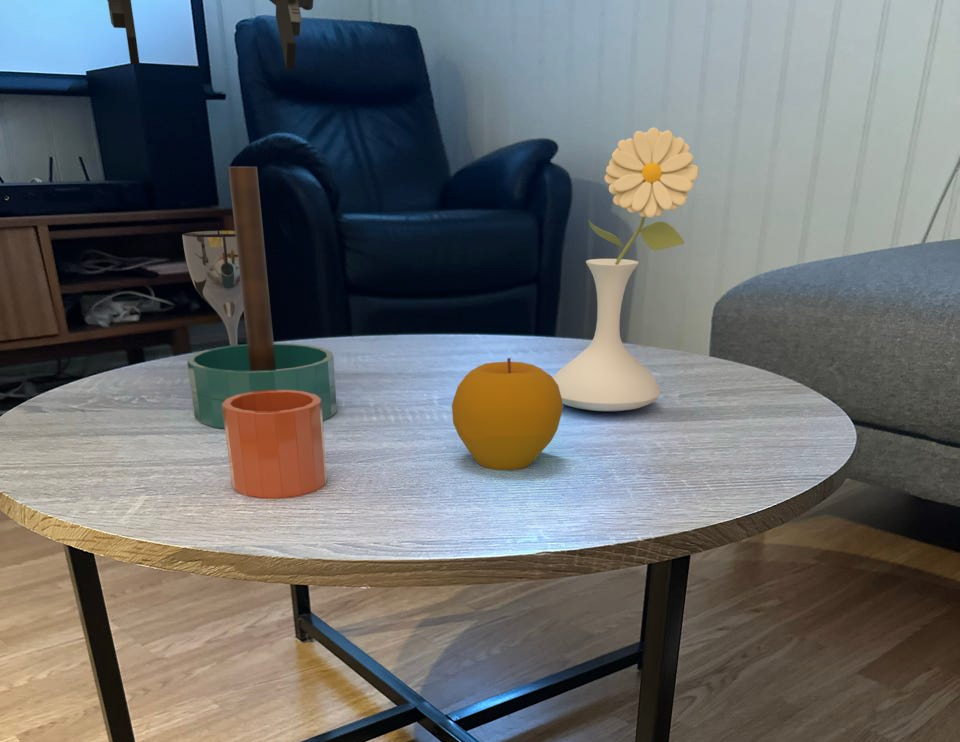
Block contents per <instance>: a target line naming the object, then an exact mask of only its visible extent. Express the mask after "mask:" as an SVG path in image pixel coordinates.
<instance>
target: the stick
mask: <svg viewBox="0 0 960 742" xmlns="http://www.w3.org/2000/svg"><path fill="white" fill-rule="evenodd" d="M227 169H228V179H229V188H230V197H231V205H232V215H233V224H234V231H235V235H236V244H237V253H238V262H239V272H240V281H241V290H242V299H243V309H244V311H243V315H244V316H243V318H244V326H245V336H246V337H245V338H246V344H247V346H248V355H249V364H250V371H256V370H276V362H275V351H274V343H275V342H274V332H273V331H274V330H273V321H272V312H271V309H272V308H271V302H270V301H271V300H270V290H269V280H268V279H269V278H268V269H267V257H266V248H265V235H264V227H263V216H262V204H261V196H260V194H261V193H260V185H259V173H258V166H228V167H227Z"/></svg>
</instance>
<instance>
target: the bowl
mask: <svg viewBox="0 0 960 742" xmlns="http://www.w3.org/2000/svg"><path fill="white" fill-rule="evenodd" d="M274 351H275V362H276V370H256V371H250V364H249V355H248V346H247V343H245V344H237V345H232V346H230V345H227V346H220V347H214V348H209V349H206V350H202V351H198V352H195V353H194V354H192V355H190V356H189V357H188V358H187V369H188V377H189V383H190V391H191V398H192V405H193V412H194V418H195V420H197V421H198V422H199V423H200V424H203V425H206V426H209V427H212V428H215V429H224V430H225V425H224V417H223V409H222V403H223V402H224V401H225V399H227V398H230V397H232V396H235V395H238V394H243V393H248V392H254V391H265V390H294V391H304V392H308V393H312V394H315V395H317V396H318V397H320V398H321V404H322V417H323V422H324V421H326V420H329V419H330V418H332V417H333V416H334V415H335V414H336V413H337V412H338V406H337V405H338V404H337V391H336V376H335V363H334V362H335V361H334V355H333V352H332V351H330V350H328V349H326V348H323V347H319V346H314V345H309V344H301V343H300V344H299V343H285V342H283V343H282V342H281V343H279V342H276V343H275V342H274Z"/></svg>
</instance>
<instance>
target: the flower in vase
mask: <svg viewBox="0 0 960 742" xmlns="http://www.w3.org/2000/svg"><path fill="white" fill-rule="evenodd" d="M690 149H691V148H690V145H689V143H688V142H687V143H686V142H685V139H684V138H683V137H680V136H679V137H675V136H674V135H673V132H672V131H671V130H669V129H666V130H663V131H661V130H659V129H658V128H657V127H650V128H649V129H648V131H644V132H643V131H642V130H636V131H635V132H634V133H633V138H631V137H629V138H627V139H621V140H619V141H618V143H617V147H616V148H615V150H614V151H613V152H612V154H611V159H610V160H609V162H608V165H607V166H606V169H605V171H606V174H605V175H604V182H606V184H608V185H609V186H608V191H609V193H610V194H611V195H614V197H613V198H612V201H613V204H614V205H616V206H620V207H621V208H622V209H626V210H627V212H629V213H631V214H635V213H636V212H638V214H639V216H640V217H641V220H640V223H639V225H638V227H637V229H636V231H635V232H634V234H633V235H632V237H631V238H630V239H629V241H628V242H627V243H626V245H625V246H624V244H623V243H622V241H621V240H620V239H619V238H618V237H617V236H616V235H615V234H613V233H612V232H609V231H606V230H604V229H601V228H599V227H598V226H596V225H595V224H594V223H592V222H591V220H590V219H588V220H587V221H588V225H589V226H590V228H591V229H592V231H593V232H594V233H595V234H596V235H598V236H599V237H601V238H602V239H604V240H606V241H608V242H609V243H612V244H614V245H617V246H619V247H621V248H623V249H622V250H621V252H620V253H619V255H618V257H617V258H593V259H588V260H585V263H586V265H587V267H588V268H589V270H590V272H591V275H592V277H593V281H594V284H595V291H596V301H597V305H596V306H597V307H596V308H597V309H596V310H597V311H596V312H597V313H596V314H597V315H596V318H597V319H596V327H595V331H594V336H593V338H592V340H591V343H589V344H588V345H587V347H586V348H585V349H584V350H582V351H581V352H580V353H579V354H578V355H576V356H575V357H574V358H573V359H572V360H570V361H569V362H568V363H566V364H564V366H563V367H562V368H560V369H559V370H558V371H557V372H556V373H555V374H554V375H553V376H552V378H553V379H554V380H555V382H556V383H557V384H558V386H559V390H560V394H561V398H562V405H565V406H568V407H570V408H576V409H581V410H585V411H587V410H588V411H595V412H621V411H631V410H636V409H640V408H643V407H646V406H648V405H651V404H653V403H654V402H655V401H657V399H658V398H659V396H660V395H661V388H660V384H659V382H658V380H656V378H655V377H654V375H653V374H652V373H651V372H650V371H649V370H648V369H647V368H646V367H645V366H644V365H643V364H642V363H641V362H640V361H639V360H638V359H636V357H634V356H633V355H632V354H631V352H630V351H628V349H627V348H626V346H625V345H624V344H623V341H622V338H621V331H620V327H621V325H620V324H621V323H620V322H621V312H622V306H623V305H622V304H623V298H624V295H625V291H626V287H627V284H628V282H629V279H630V277H631V275H632V274H633V272H634V271H635V269H636V268H637V267H638V265H639V264H640V262H639V261H637V260H634V259H633V260H632V259H626V258H625V259H624V255H625V254H626V253H627V251H628V250H629V249H630V247H631V245H633V243H634V242H635V240H636V239H637V237H638V235H639V234H640V236H641V237H640V238H642V241H644V243H645V244H646V246H647V247H648V248H649V249H651V250H653V251H659V250H666V249H669V248H673V247H679V246H681V245H683V244H685V241H684V239H683V238H682V236H681V234H680V233H679V232H678V231H677V230H676V228H674V227H673V226H672V225H670V224H668V222H665V221H656V222H653V223H651V224H648V225H646V226H644V224H645V221H646V217H647V218H654V217H659V216H661V215H662V214H663V211H669V210H670V211H674V210H676V209H678V207H682V206H683V205H685V204H686V201H687V200H688V198H689V194H688V192H690V191H691V190H692V189H694V185H695V183H694V181H696V180H697V178H698V173H699V167H698V166H697V165H695V164H692V163H693V162H694V160H695V158H694V155H693V154H692V153H691V152H689V151H690ZM643 226H644V227H643Z"/></svg>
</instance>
